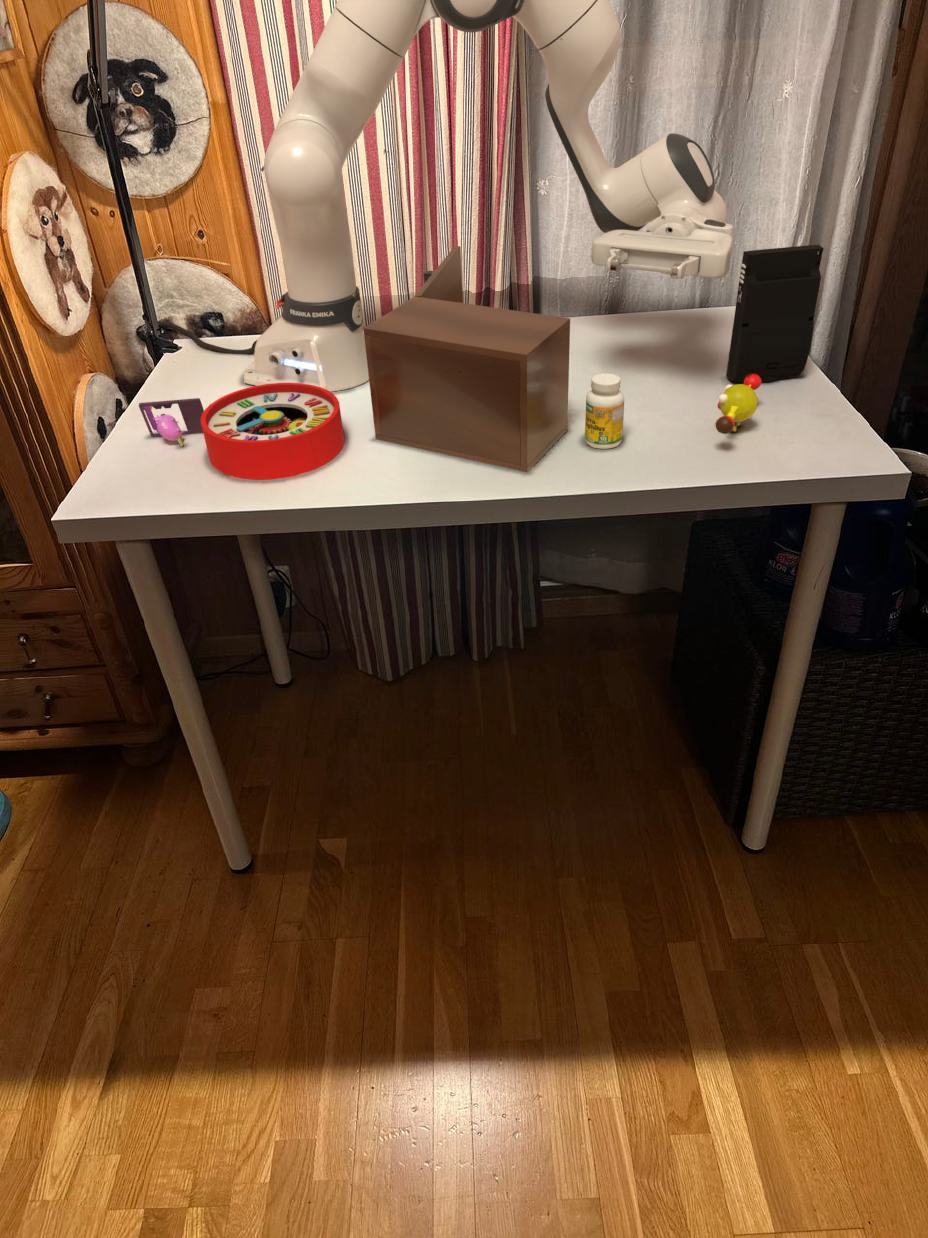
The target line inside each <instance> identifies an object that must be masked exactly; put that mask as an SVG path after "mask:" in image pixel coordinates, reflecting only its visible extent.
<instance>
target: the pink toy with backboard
mask: <svg viewBox="0 0 928 1238" xmlns="http://www.w3.org/2000/svg"><path fill="white" fill-rule="evenodd" d="M173 405H178V408H179V411H180V413H181V416H182V419H183V422H184V425H185V428H186V430H184V431H183V430H182V429H181V428H180V426H179V424H178V423H179V421H177V420H176V417H174V416H172V415H170V414H165V413H161V414H160V415H158V414H157V415H156V416H154V413H153V411H152V410H153V409H155V410H161V409H162V408H164V409H172V406H173ZM138 408H139V411H140V413H141V416H142V417H143V420H144V423H145V426H146V428H147V430H148V432H149V435H150V437H151V438H157V437H163V438H164V439H166V440H167V441H177V442H178V444H179V445H180V447H183V446H184V443H183V440H182V439H181V438H182V435H191V434H204V433H203V429H202V425H201V416H202V414H203V412H204V411H205V409H204V406H203V403H202V401H201V398H199V397H195V398H194V397H193V398H184V399H183V398H181V399H172V400H171V399H170V400H159V401H148V402H138ZM153 431H155V432H156V433H154V432H153Z"/></svg>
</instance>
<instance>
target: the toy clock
mask: <svg viewBox="0 0 928 1238" xmlns="http://www.w3.org/2000/svg"><path fill="white" fill-rule="evenodd" d="M201 425H202V429H203V433H202V434H203V437H204V441H205V446H206V451H207V455H208V459H209V463H210V464H211V466H212V467H213V468H214V469H215V471H218V472H219V473H221V474H222V475H225V476H228V477H232V478H237V479H240V480H241V479H243V480H249V481H272V480H281V479H282V480H283V479H287V478H293V477H296V476H300V475H304V474H306V473H310V472H312V471H315V470H317V469H319V468H322V467H323V466H325V465H327V464H328V463H331V461H333V460H334V459H335V458H336V457H337V456H338V455H340V453H341V451H342V450H343V448H344V446H345V435H344V428H343V421H342V413H341V406H340V401H339V399H338V397H337V396H336V395H335V394H334V393H333V392H330V391H328V390H326V389H324V388H321V387H318V386H314V385H309V384H302V383H273V384H264V385H258V386H255V385H252V386H249V387H245V388H242V389H238V390H235V391H233V392H230V393H228V394H225V395H223V396H221V397H219V398H218V399H216V400H215V401H213V402H212V403H210V404H209V405H208V406H207V407H206V408H205V409H204V412H203V414H202V416H201Z"/></svg>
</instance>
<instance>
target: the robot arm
mask: <svg viewBox="0 0 928 1238" xmlns="http://www.w3.org/2000/svg"><path fill="white" fill-rule="evenodd" d="M438 18H439V19H441V20H442V21H443V22H445V23H446V24H447V25H448V26H450V27H452V28H453V29H455V30H457V31H460V32H464V33H479V32H483V31H486V30H489V29H490V28H492V27H494V26H496V25H498V24H500V23H502V22H504V21H506V20H509V19H510V18H513V19H514V20H515V21H517V23H519V24H520V26H521V27H522V28H523V29H524V30H525V32H526V33H527V35H528V36H529V38H530V39H531V41H532V43H533V44H534V46H535V47H536V49H537V50H538V52H539V53H540V55H541V57H542V59H543V62H544V65H545V67H546V71H547V77H548V84H547V86H546V89H545V91H544V97H545V103H546V106H547V110H548V112H549V117H550V118H551V121H552V123H553V126H554V128H555V130H556V132H557V135H558V137H559V139H560V141H561V144H562V146H563V148H564V150H565V152H566V155H567V157H568V159H569V161H570V163H571V165H572V168H573V170H574V172H575V174H576V176H577V178H578V180H579V182H580V185H581V187H582V189H583V191H584V194H585V197H586V201H587V203H588V206H589V210H590V212H591V216H592V218H593V220H594V223H595V224H596V226H597V227H598V229H599V230H600V231H601V232H602V233H603V234H600V235H599V236H596V237H595V238H593V240H592V242H591V252H590V253H591V257H590V258H591V262H592V264H593V265H595V266H597V267H606V272H611V273H618V272H619V271H620V270H621V269H627V270H635V271H636V270H637V271H646V272H654V273H661V274H664V275H668V276H670V278H671V279H674V280H675V279H676V280H682V279H683V278H684V277H690V276H691V277H692V276H693V277H699V278H700V277H701V278H710V279H722V278H724V277H726V276H727V275H728V273H729V271H730V267H731V266H730V265H731V260H732V259H731V258H732V254H733V245H734V226H733V224H730V223H727V217H728V209H727V205H726V202H725V201H724V198H723V197H722V196H721V195H720V194H719V192H718V191H716V190H715V183H716V182H715V176H714V172H713V169H712V166H711V163H710V161H709V158H708V157H707V155H706V153H705V150H704V149H703V148H702V147H701V145H699V144H698V142H696V141H695V140H693V139H691V138H690V137H687V136H685V135H683V134H680V133H675V132H674V133H668V135H666V136H664V137H662V138H661V139H660V140H657V141H656V142H655V143H653V144H651V145H650V146H649V147H647V148H645V149H644V150H642V152H640V153H639V154H637V155H636V156H634V157H632V158H631V159H629V160H628V161H626V162H625V163H622V164H621V165H620V166H618V167H612V166H610V165H609V164H608V162H607V160H606V157H605V155H604V153H603V150H602V148H601V146H600V144H599V141H598V139H597V137H596V134H595V133H594V130H593V128H592V126H591V125H592V124H591V123H590V120H589V108H590V104H591V102H592V100H593V98H594V97H595V96H596V94H597V92H598V91H599V89H600V88H601V86H602V85H603V83H604V81H605V80H606V78H607V77H608V75H609V73H610V72H611V70H612V67H613V66H614V64H615V61H616V59H617V57H618V53H619V50H620V45H621V25H620V22H619V19H618V17H617V15H616V12H615V10H614V8H613V6H612V4H611V3H610V1H609V0H337V1H336V3H335V5H334V8H333V9H332V12H331V14H330V16H329V18H328V20H327V22H326V24H325V25H324V28H323V30H322V32H321V35H320V36H319V38H318V41H317V42H316V45H315V46H314V49H313V51H312V53H311V55H310V57H309V60H308V61H307V63H306V65H305V67H304V69H303V71H302V73H301V75H300V77H299V79H298V82H297V83H296V85H295V87H294V90H293V91H292V93H291V96H290V98H289V100H288V101H287V104H286V105H285V107H284V110H283V112H282V113H281V116H280V118H279V120H278V122H277V123H276V126H275V128H274V130H273V132H272V135H271V137H270V141H269V144H268V146H267V149H266V152H265V154H264V159H263V171H264V176H265V182H266V187H267V192H268V197H269V202H270V207H271V212H272V217H273V221H274V224H275V229H276V232H277V233H276V234H277V237H278V240H279V245H280V251H281V257H282V258H281V259H282V264H283V265H282V266H283V270H284V271H283V272H284V276H285V282H286V283H285V284H286V288H287V289H286V290H287V291H286V292H284V293H283V294H282V295H280V297H279V299H278V300H276V301H275V302H274V304H275V309H276V310H278V309H280V308H281V310H282V311H281V315H280V316H279V317H278V318H277V319H276V320H275V321H274V322H273V323H272V324H271V325H270V326H269V327H268V328H267V329H266V330H265V331H263V333H262V334H260V336H259V337H258V338H257V339H256V340H254V341H253V342H252V344H251V347H249V348H245V349H231V348H226V347H222V346H218V345H215V344H211V343H207V342H206V341H203V340H202V339H201V338H199V337H198V336H197V334H195V333H194V332H193V331H191V330H189V329H186V328H184V327H182V326H180V325H178V324H175V323H173V322H170V321H165V320H164V321H160V322H159V323H160V326H158V327H159V330H158V331H160V330H161V329H162V328H165V327H167V328H171V329H173V330H175V331H177V332H179V333H181V334H183V335H185V336H187V337H190V338H191V339H192V340H193V341H194V342H195V343H196V344H197V345H198V346H199V347H202V348H204V349H208V350H211V351H215V352H218V353H222V354H231V355H252V354H254V358H253V359H254V361H253V362H252V363H250V364H249V365H248V366H247V368H246V369H245V371H244V372H243V381H244V384H247V385H252V386H258V385H264V384H273V383H302V384H309V385H314V386H318V387H321V388H324V389H326V390H328V391H330V392H331V393H333V392H338V391H345V390H348V389H352V388H355V387H358V386H360V385H363V384H365V383H367V382H369V375H368V366H367V357H366V348H365V339H364V330H363V328H364V327H363V322H364V321H363V318H364V317H363V306H362V300H361V293H360V288H359V287H358V286H357V280H356V272H355V264H354V254H353V245H352V235H351V230H350V224H349V217H348V209H347V203H346V202H347V201H346V194H345V193H346V192H345V187H344V185H345V184H344V178H343V168H344V165H345V162H346V160H347V158H348V156H349V155H350V153H351V151H352V150H353V148H354V146H355V144H356V143H357V141H358V139H359V138H360V136H361V135H362V132H364V129H365V128H366V126H367V125H368V123H369V121H370V120H371V118H372V117H373V116H374V114H375V113H376V111H377V109H378V107H379V106H380V104H381V102H382V99H383V98H384V96H385V94H386V92H387V90H388V88H389V87H390V85H391V83H392V81H393V79H394V77H395V75H396V73H397V72H398V70H399V68H400V65H401V64H402V62H403V60H404V57H405V56H406V55H407V52H408V50H409V48H410V47H411V44H412V43H413V40H414V39H415V37H416V35H417V34H418V33H419V31H420V30H421V28H422V27H424V25H425V24H427V22H429V21H431V20H433V19H438ZM647 224H649V226H648V227H647V229H646V231H643V230H642V229H643V228H644V227H645V226H647Z"/></svg>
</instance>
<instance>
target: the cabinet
mask: <svg viewBox="0 0 928 1238" xmlns="http://www.w3.org/2000/svg"><path fill="white" fill-rule="evenodd" d="M363 332H364V339H365V348H366V357H367V366H368V375H369V380H368V382H369V392H370V401H371V409H372V418H373V427H374V434H375V436H374V437H375V440H377V441H382V442H387V443H389V444H395V445H400V446H403V447H409V448H413V449H418V450H422V451H427V452H432V453H436V454H441V455H445V456H450V457H454V458H459V459H462V460H463V459H464V460H468V461H473V462H477V463H482V464H487V465H491V466H497V467H499V468H504V469H510V470H512V471H513V470H514V471H518V472H522V473H523V472H524V473H528V472H529V471H530V470H531V469H532V468H533V467H534V466H535V465H536V464H537V463H538V462H539V461H540V460H541V459H542V458H543V457H544V456H545V455H546V454H547V453H548V452H549V451H550V450H551V449H552V448H553V446H554V445H555V444H556V443H558V441H559V440H560V439H562V437H563V436H565V434H566V433H567V432H568V422H569V421H568V419H569V382H570V380H569V377H570V348H571V347H570V343H571V318H570V317H562V316H556V315H550V314H549V315H548V314H544V313H543V314H542V313H535V312H534V313H533V312H529V311H520V310H515V309H507V308H500V307H492V306H487V305H486V306H485V305H479V304H472V303H465V302H463V303H458V302H451V301H444V300H437V299H430V298H423V297H416V296H415V295H414V296H413V297H412V298H410V299H408V300H407V301H405V302H403V303H402V304H400V305H399V306H397V307H396V308H394V309H393V310H391V311H389V312H387V313H386V314H384V315H383V316H381V317H379V318H378V319H376V320H374V321H373V322H371V323H369V324H368V325H366V326H365V327H363Z"/></svg>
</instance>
